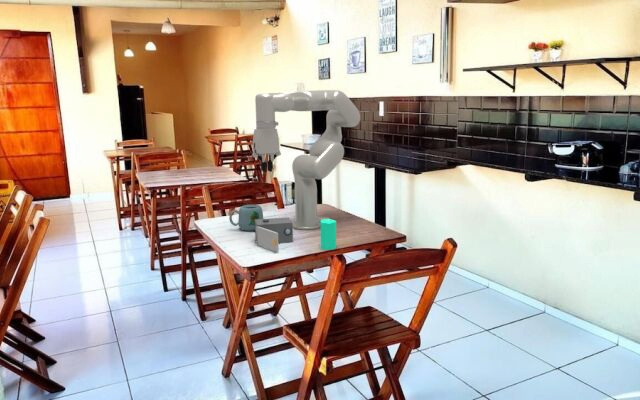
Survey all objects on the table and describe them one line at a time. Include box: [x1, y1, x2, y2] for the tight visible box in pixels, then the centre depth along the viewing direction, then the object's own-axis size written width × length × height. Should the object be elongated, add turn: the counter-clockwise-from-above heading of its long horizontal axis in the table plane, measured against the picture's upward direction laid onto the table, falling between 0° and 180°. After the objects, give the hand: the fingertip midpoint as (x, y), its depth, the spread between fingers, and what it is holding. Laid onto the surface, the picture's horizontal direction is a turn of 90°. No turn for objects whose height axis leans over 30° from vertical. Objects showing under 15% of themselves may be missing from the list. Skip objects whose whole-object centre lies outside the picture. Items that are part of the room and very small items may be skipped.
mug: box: [229, 204, 264, 232], centre depth 228 cm, size 15×11×10 cm
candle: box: [320, 217, 337, 251], centre depth 200 cm, size 6×6×12 cm
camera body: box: [254, 217, 294, 244], centre depth 210 cm, size 14×9×9 cm, turn 103°
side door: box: [255, 226, 279, 253], centre depth 199 cm, size 14×2×7 cm, turn 41°
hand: (267, 171), depth 212 cm, fingers closed
